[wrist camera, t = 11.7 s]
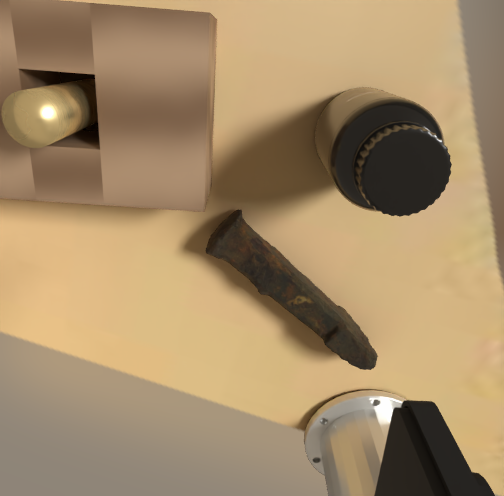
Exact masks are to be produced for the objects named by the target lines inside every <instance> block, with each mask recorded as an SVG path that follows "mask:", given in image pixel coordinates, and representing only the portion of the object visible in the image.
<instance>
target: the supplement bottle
mask: <svg viewBox="0 0 504 496" xmlns="http://www.w3.org/2000/svg"><path fill="white" fill-rule="evenodd" d="M315 145H316V149H317V152H318V155H319V157H320V159H321V161H322V163H323V165H324V167H325V168H326V170H327V172H328V174H329V176H330V177H331V179H332V181H333V183H334V184H335V186H336V188H337V189H338V191H339V192H340V193H341V194H342V195H343V196H344V197H345V198H346V199H347V200H348V201H349V202H351V203H352V204H354V205H356V206H358V207H360V208H363V209H366V210H370V211H380V212H382V213H383V214H389V215H391V216H394V215H397V216H403V215H408V216H409V215H411V214H413V213H418V212H420V211H421V210H425V209H426V208H427V207H428V206H429V205H432V204H433V203H434V201H435V200H436V199H438V198H439V197H440V195H441V193H442V192H443V191H444V190H445V187H446V184H447V183H448V182H449V176H450V174H451V170H450V168H451V165H452V164H451V162H450V155H449V153H448V149H447V147H446V146H445V145H444V138H443V134H442V131H441V128H440V126H439V124H438V122H437V121H436V119H435V118H434V117H433V115H432V114H431V113H430V112H429V111H428V110H426V109H425V108H424V107H422V106H421V105H419V104H417V103H415V102H413V101H410V100H408V99H405V98H402V97H399V96H396V95H393V94H390V93H388V92H385V91H382V90H378V89H374V88H367V87H362V88H354V89H351V90H348V91H345V92H343V93H341V94H340V95H338V96H336V97H335V98H334V99H333V100H332V101H330V102H329V103H328V105H327V106H326V107H325V108H324V110H323V111H322V113H321V115H320V117H319V119H318V122H317V125H316V130H315Z"/></svg>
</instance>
